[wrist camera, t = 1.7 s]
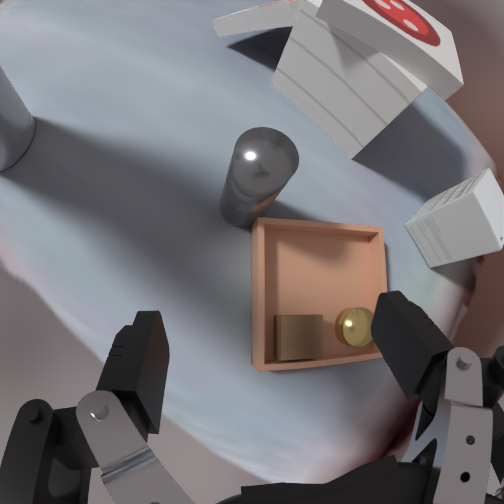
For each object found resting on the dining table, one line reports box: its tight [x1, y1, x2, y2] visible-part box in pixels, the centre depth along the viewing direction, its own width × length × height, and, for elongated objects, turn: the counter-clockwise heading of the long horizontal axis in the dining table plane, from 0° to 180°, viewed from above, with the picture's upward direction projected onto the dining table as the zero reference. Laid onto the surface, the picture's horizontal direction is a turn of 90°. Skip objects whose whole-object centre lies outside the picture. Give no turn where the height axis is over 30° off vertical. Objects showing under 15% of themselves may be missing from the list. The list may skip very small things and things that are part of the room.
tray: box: [251, 217, 387, 371], centre depth 28 cm, size 14×14×3 cm
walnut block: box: [274, 314, 323, 360], centre depth 26 cm, size 4×4×2 cm
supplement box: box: [405, 168, 504, 268], centre depth 28 cm, size 7×7×13 cm
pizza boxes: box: [212, 0, 463, 159], centre depth 27 cm, size 19×30×18 cm, turn 44°
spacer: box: [220, 127, 299, 228], centre depth 24 cm, size 5×5×11 cm
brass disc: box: [335, 307, 374, 347], centre depth 28 cm, size 4×4×2 cm
